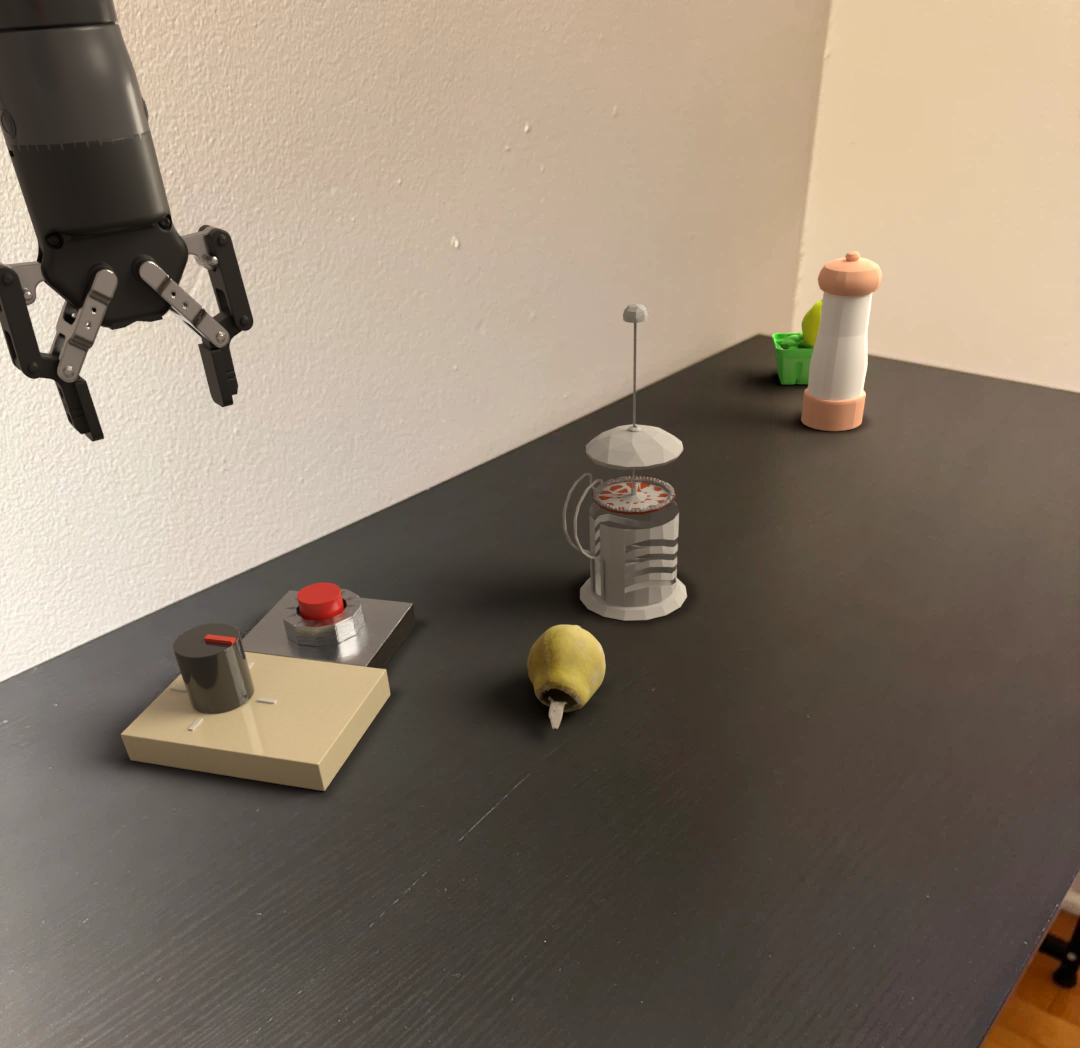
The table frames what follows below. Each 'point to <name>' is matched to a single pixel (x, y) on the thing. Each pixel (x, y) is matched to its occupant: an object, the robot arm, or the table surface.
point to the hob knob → (214, 667)
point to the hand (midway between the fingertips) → (160, 420)
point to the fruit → (565, 669)
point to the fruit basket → (797, 348)
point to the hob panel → (266, 723)
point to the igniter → (335, 631)
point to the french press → (617, 575)
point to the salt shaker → (841, 345)
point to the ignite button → (320, 601)
